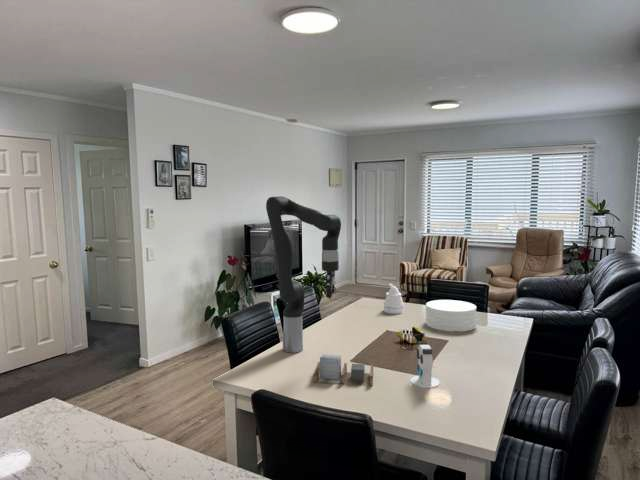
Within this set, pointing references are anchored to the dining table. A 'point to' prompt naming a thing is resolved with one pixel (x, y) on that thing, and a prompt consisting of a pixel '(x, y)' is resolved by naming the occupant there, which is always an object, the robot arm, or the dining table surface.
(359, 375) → the cord plug
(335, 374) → the medicine box
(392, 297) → the honey pot
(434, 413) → the dining table surface
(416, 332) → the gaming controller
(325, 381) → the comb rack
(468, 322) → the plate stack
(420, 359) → the panda figurine
